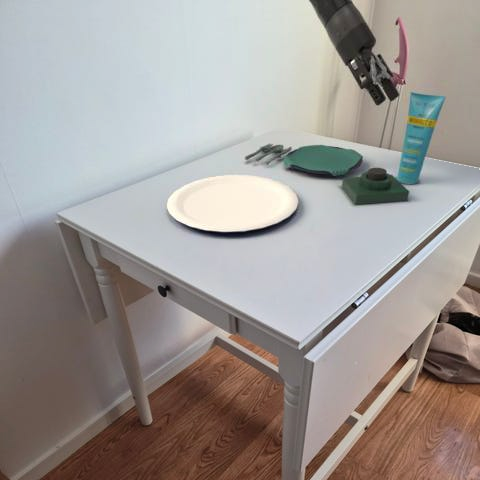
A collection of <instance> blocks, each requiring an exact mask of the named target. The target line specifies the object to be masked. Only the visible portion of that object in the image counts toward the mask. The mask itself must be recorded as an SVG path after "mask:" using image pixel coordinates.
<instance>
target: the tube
mask: <svg viewBox="0 0 480 480" xmlns="http://www.w3.org/2000/svg"><path fill="white" fill-rule="evenodd" d="M446 97H447V95H441V94H428V93H419V92H414V91H411V92H410V95H409V105H408V106H409V107H408V114H407V120H406V121H407V122H406V128H405V134H404V139H403V145H402V152H401V156H400V161H399V166H398V172H397V177H396V179H397V180H398V181H399V182H400V183H401V184H405V185H414V184H417V183H418V181H419V180H420V179H419V178H420V175H421V172H422V170H423V166H424V163H425V159H426V156H427V153H428V150H429V145H430V143H431V140H432V137H433V134H434V131H435V128H436V124H437V122H438V118H439V115H440V113H441V110H442V108H443V105H444V103H445V100H446Z"/></svg>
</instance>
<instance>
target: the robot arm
mask: <svg viewBox="0 0 480 480" xmlns="http://www.w3.org/2000/svg"><path fill="white" fill-rule="evenodd" d="M308 1H309V3H310V4H311V6H312V8H313V10H314V12H315V14H316V16H317V18H318V19H319V21H320V24H321V25H322V27H323V28H324V29H325V32H326V33H327V36H328V38H329V40H330V42H331V44H332V46H333V47H334V49H335V51H336V52H337V54H338V56H339V58H340V59H341V61H342V62H343V64H344V66H346V67H347V68H348V69H349V71H350V73H351V74H352V76H353V78H354V80H355V82H356V83H357V85H358V87H359V89H360V90H364V91H365V92H368V94H369V96H370V98H371V99H372V101H373V103H374V104H375V106H377V107H378V106H380V105H382V104H383V103H384V102H385V101H386V100H387V99H388V100H389V101H390V102H393V101H394V100H396V99H397V98H398V97H399V96H400V93H399V91H398V89H397V88H396V86H395V84H394V82H393V78H394V73H393V72H392V71H391V69H390V67H389V66H388V64H387V62H386V60H385V59H384V58H383V56H382V54H381V53H378V54H374V52H373V51H372V50H373V48H374V47H375V45H376V44H377V38H376V37H375V35H374V33H373V32H372V30H371V28H370V27H369V24H368V23H367V22H366V20H365V18H364V17H363V15H362V13H361V11H360V10H359V9H358V7H356V5H355V4H354V2H353V0H308Z"/></svg>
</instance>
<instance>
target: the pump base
mask: <svg viewBox="0 0 480 480" xmlns="http://www.w3.org/2000/svg"><path fill="white" fill-rule="evenodd" d="M367 175H368V171H365V172H362V173H361V174H360V176H354V177H343V178H342V183H341V188H342V189H343V190H344V192H345V193H346V195H347V196H348V197H349V199H350V200H351V201H352V202H353V203H354V204H355V205H368V204H369V205H370V204H381V203H393V202H394V203H395V202H407V201H408V198H409V194H410V190H409V189H407V188H406V187H405V185H403V183H401V182H400V181H398V180H397V177H395V176H394V175H393V174H389V173H388V172H387V173H386V178H385V180H383V181H375V180H370V179H368V178H367Z"/></svg>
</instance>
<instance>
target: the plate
mask: <svg viewBox="0 0 480 480" xmlns="http://www.w3.org/2000/svg"><path fill="white" fill-rule="evenodd" d="M298 206H299V198H298V196H297V193H296V192H295V191H294V190H293V189H292V188H291V187H290V186H288V185H286V184H284V183H283V182H281V181H277V180H275V179H272V178H268V177H264V176H263V177H262V176H258V175H247V174H225V175H224V174H223V175H218V176H209V177H204V178H202V179H198V180H194V181H192V182H189V183H187V184H184V185H183V186H181V187H180V188H178V189H177V190H175V191H173V193H172V194H171V195H170V196H169V198H168V199H167V203H166V209H167V211H168V213H169V216H171V217H172V218H173V219H174V220H175V221H176V222H178V223H180V224H181V225H184V226H186V227H189V228H192V229H195V230H201V231H204V232H212V233H224V234H227V233H228V234H229V233H230V234H231V233H246V232H252V231H257V230H258V231H259V230H263V229H265V228H268V227H272V226H274V225H278V224H279V223H281V222H283V221H286V220H287V219H289V218H290V217H291V216H292V215H293V214H294V213H295V212H296V211H297V208H298Z"/></svg>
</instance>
